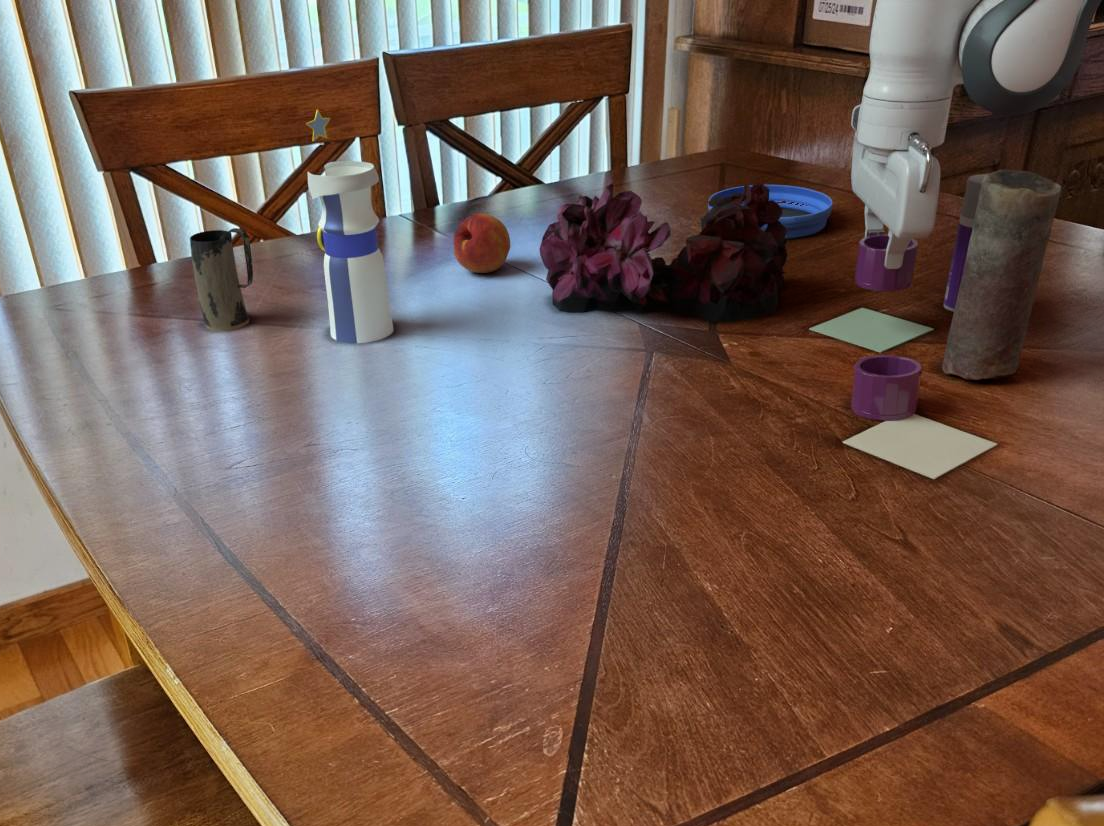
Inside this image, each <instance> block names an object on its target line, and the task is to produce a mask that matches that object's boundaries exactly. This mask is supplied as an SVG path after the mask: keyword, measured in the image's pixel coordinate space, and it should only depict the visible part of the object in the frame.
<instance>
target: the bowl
mask: <svg viewBox="0 0 1104 826" xmlns="http://www.w3.org/2000/svg"><path fill="white" fill-rule="evenodd" d="M764 185H765V186H766V187H767V188H768V189H769V201H770V200H773V201H775V202H782V201H786V203H778V204H779V206H780V207H781V208H782V209H783V213H782V215H781V217H780V218H779V220H778V221H779V222H780V223H781V224H782V225H783V226H784V227H785V229H787V230H788V231H787V233H786V235H785V239H786V240H791V239H799V238H803V237H804V238H805V237H808V236H811V235H814V234H815V235H816V234H817V233H818V232H821V231H822V230H823V229H824V228H825V227H826V225H827V221H828V218H829V217H830V215H831V213H832V211H833V205H834V204H833V200H832V198H831V197H830V196H828V195H827V194H826V193H824V192H821V191H818V190H814V189H810V188H806V187H801V186H795V185H794V186H793V185H786V184H785V185H784V184H764ZM744 186H745V185H742V186H736V187H730V188H727V189H723V190H720V191H718V192H715V193H714V194H712V195H711V196H710V197H709V198H708V201H710V200H711V199H713V198H714V197H715V196H716V197H728V196H730V195H732V194H734V193H743V191H744ZM752 186H753V184H752V185H750V184H749V187H750V189H751V188H752ZM791 202H794V203H792V204H788V203H791ZM743 203H744V202H743ZM797 203H799V204H798V205H795V204H797ZM802 204H804V205H802ZM741 205H743V206H744V204H741ZM800 205H802V206H800ZM806 205H807V206H806ZM712 208H713V207H711V206H709V203H708V204H707V209H708V212H709V211H710V210H711V209H712ZM767 226H768V224H765V225H763V226H762V227H761V230H763V231H765V230H766V228H767Z"/></svg>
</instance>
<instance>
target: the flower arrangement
mask: <svg viewBox="0 0 1104 826" xmlns="http://www.w3.org/2000/svg"><path fill="white" fill-rule="evenodd" d="M752 185H753V184H752ZM765 185H766V184H763V182H760V181H758V180H757V181H756V183H755V184H754V185H753V186H752V188H751V189H750V187H749V186H750V184H748V183H747V184H745V185H743V186H744V191H743V193H734V194H732V195H730V196H728V197H716V196H715V197H714V198H713V199H711V200H710V201H709V200H708V201H707V202H708V203H709V206H711V207H713V208H712V209H711V210H710V211H709V210H708V211H707V213H706V214H705V215H704V216H703V217H702V218H701V219H700V226H701V231H700V232H699V234H694V235H692V236H688V237H687V238H686V239H685V246H684V247H682V248H681V250H680V251H679V253H678V254H677V257H675V258H673V259H672V261H671V263H670V264H667V263H666V260H665V259H664V257H663V256H661V257H659V256H658V257H657V256H656V257H655V258H652V257H651V255H650V253H649V252H651V251H653V250H655V249H658V248H661V247H662V246H663V245H664V244H665V242H666V241H667V240H668V239H669V238H670V237H671V226H670V224H669V223H668V221H666V222H663V223H661V225H659V226H658V227H657V228H656V229H655V230H653V231H651V232H649V231H650V230H651V229H652V227H653V226H654V225H655V224H656V222H655V221H654V220H650V221H649V220H648V219H649V218H648V216H646V215H644V214H643V213H642V212H641V206H642V204H643V203H642V202H643V200H642V197H641V196H639V195H638V194H637V193H636V192H633V191H632V190H626V191H621V192H618V193H617V194H616V195H615V196H614V188H615V187H614V183H613V173H611V174H610V175H609V177H608V178H607V186H606V187H605V189H604V190H603V192H602V194H601V195H600V198H599V197H598V196H597V195H594V197H593V198H591V197H589V196H587V195H581V194H579V195H578V201H576V202H574V203H566V204H562V205H558V207H557V209H558V210H557V218H556V219H557V221H556V222H553V223H551V224H549V225H548V227H547V229H546V230H545V232H544V233H543V236H542V238H541V243H540V245H539V255H540V259H541V260H542V264H543V266H544V267H545V268H546V269H547V274H546V277H545V280H546V282H547V284H548V285H549V287H550V288H551V290H552V292H551V294H552V295H551V299H552V306H554V307H555V308H556V309H557V310H558V311H559V312H563V313H568V314H585V313H588V312H594V311H600V312H601V311H602V312H611V313H618V312H620V313H622V312H624V313H625V312H635V313H638V314H639V313H640V314H645V313H650V312H669V313H673V314H677V315H683V316H687V317H688V316H689V317H692V318H693V317H694V318H698V319H701V320H705V321H710V322H713V323H734V322H741V321H746V320H752V319H757V318H759V319H760V318H762V317H765V316H768V315H770V314H772V313H773V312H774V311H775V310H777V309H778V303H779V296H778V291H779V290H780V289H781V288H783V282H784V281H783V280H784V279H785V277H784V275H783V274H786V271H783V270H784V269H783V267H784V266H785V265H786V262H787V259H788V252H787V247H786V244H787V243H788V242H787V239H785V235H786V233H787V231H788V230H787V229H785V227H784V226H783V225H782V224H781V223H780V222H779V221H778V220H779V218H780V217H781V215H782V213H783V209H782V208H781V207H780V206H779V204H778V203H777V202H775V201H773V200H770V201H769V189H768V188H767V187H766V186H765ZM743 202H744V206H743V205H741V204H742V203H743ZM765 224H768V226H767V228H766V230H765V231H763V230H761V227H762V226H763V225H765Z"/></svg>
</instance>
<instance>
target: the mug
mask: <svg viewBox="0 0 1104 826" xmlns="http://www.w3.org/2000/svg"><path fill="white" fill-rule="evenodd" d="M232 233H235V234H237V235H239V237H240V238H241V240H242V245H243V251H244V258H245V264H246V265H245V266H246V272H247V273H246V274H247V284H243V283H242V284H240V279H239V276H238V270H237V263H236V259H235V251H234V245H233V235H232ZM189 244H190V245H189V246H190V256H191V262H192V269H193V275H194V276H193V277H194V282H195V286H196V291H197V297H198V301H199V306H200V310H201V314H202V317H203V321H204V325H205V328H206V329H208V330H211V331H215V332H217V331H219V332H224V331H233V330H236V329H237V330H238V329H240V328H242V327H244V326H246V325H248V324H249V322H250V318H249V315H248V311H247V307H246V304H245V301H244V297H243V293H242V289H246V288H247V287H248V286H251V285H252V284H253V280H254V279H253V277H254V268H253V258H252V257H253V256H252V250H251V241H250V236H249V235H248V233H247V231H246V230H244V229H243V228H239V227H235V228H234V227H233V228H231V229H229V230H224V229H213V230H206V231H201V232H197V233H194V234H193V235H191V236H190V237H189Z"/></svg>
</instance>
